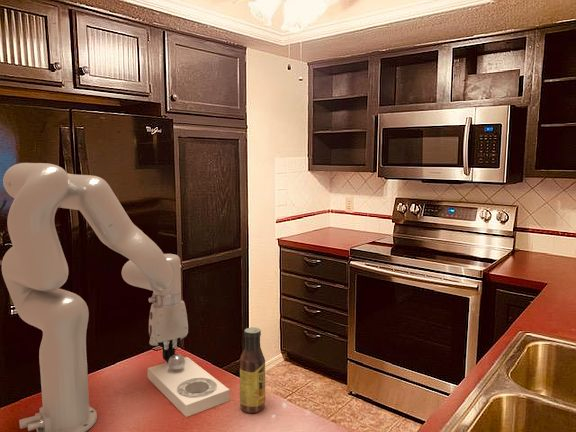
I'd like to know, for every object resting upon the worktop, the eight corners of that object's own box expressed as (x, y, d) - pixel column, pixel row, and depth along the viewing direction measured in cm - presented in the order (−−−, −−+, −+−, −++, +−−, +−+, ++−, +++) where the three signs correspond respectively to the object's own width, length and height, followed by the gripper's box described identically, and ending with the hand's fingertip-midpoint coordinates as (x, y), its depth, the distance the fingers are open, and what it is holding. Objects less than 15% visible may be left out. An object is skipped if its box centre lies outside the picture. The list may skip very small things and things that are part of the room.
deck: (186, 417, 108) (186, 405, 108) (147, 378, 127) (147, 368, 126) (229, 400, 116) (229, 389, 115) (187, 366, 134) (187, 356, 134)
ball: (172, 375, 122) (172, 359, 122) (165, 369, 126) (165, 353, 125) (187, 370, 125) (187, 355, 125) (180, 364, 129) (180, 349, 128)
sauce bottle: (264, 414, 110) (264, 336, 107) (238, 414, 110) (237, 335, 107) (266, 400, 116) (266, 325, 113) (241, 399, 116) (241, 325, 114)
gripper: (146, 307, 119) (148, 373, 122) (197, 296, 129) (198, 358, 131) (136, 300, 125) (138, 363, 127) (185, 290, 134) (187, 349, 137)
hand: (169, 360), depth 129 cm, fingers closed
